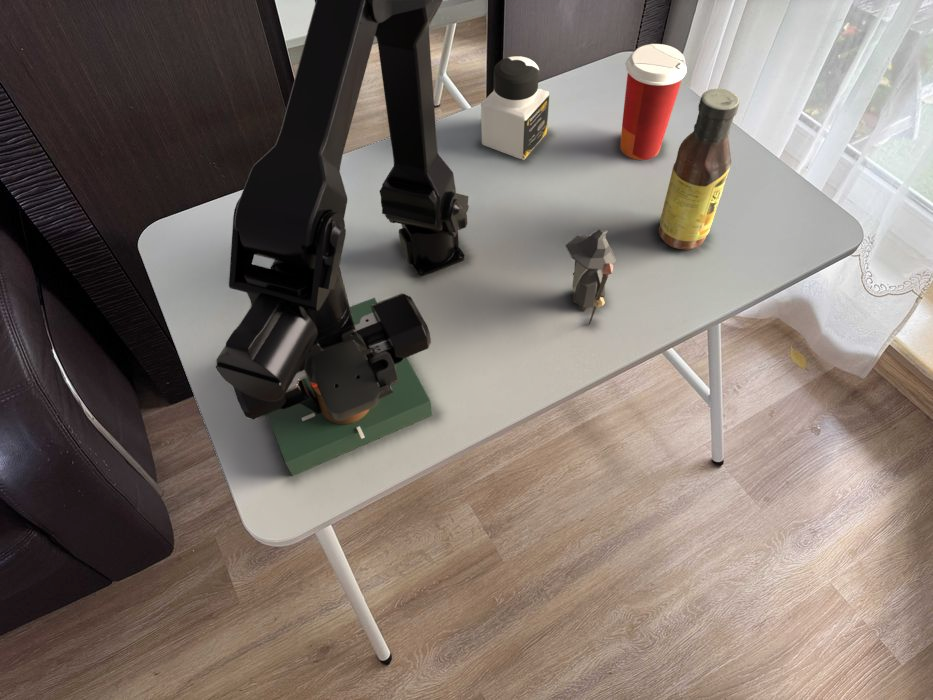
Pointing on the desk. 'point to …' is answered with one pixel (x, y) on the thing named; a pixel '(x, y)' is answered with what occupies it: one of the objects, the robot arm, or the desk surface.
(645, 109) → the paper cup
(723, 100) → the sauce bottle
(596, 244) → the wizard figurine
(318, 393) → the rotary dial knob
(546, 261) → the desk surface
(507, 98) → the medicine bottle
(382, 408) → the rotary dial base
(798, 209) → the desk surface
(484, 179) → the desk surface
